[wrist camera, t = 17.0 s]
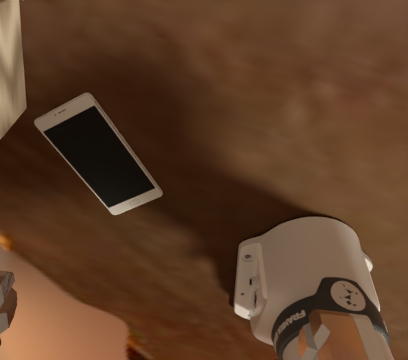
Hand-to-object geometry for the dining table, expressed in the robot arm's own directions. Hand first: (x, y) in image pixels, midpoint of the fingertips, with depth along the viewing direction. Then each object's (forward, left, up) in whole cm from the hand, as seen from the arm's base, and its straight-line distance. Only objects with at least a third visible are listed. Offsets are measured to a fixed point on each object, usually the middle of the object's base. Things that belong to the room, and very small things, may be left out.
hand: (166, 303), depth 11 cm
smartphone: (-17, +7, -31) cm, 36 cm away
